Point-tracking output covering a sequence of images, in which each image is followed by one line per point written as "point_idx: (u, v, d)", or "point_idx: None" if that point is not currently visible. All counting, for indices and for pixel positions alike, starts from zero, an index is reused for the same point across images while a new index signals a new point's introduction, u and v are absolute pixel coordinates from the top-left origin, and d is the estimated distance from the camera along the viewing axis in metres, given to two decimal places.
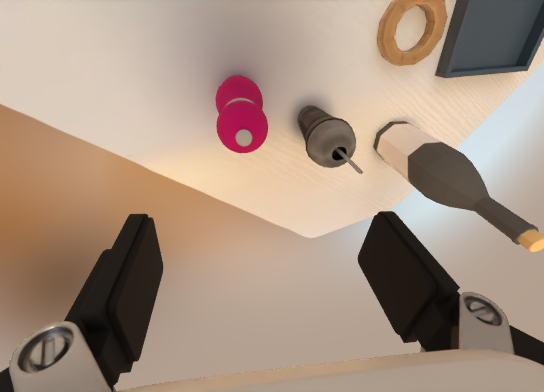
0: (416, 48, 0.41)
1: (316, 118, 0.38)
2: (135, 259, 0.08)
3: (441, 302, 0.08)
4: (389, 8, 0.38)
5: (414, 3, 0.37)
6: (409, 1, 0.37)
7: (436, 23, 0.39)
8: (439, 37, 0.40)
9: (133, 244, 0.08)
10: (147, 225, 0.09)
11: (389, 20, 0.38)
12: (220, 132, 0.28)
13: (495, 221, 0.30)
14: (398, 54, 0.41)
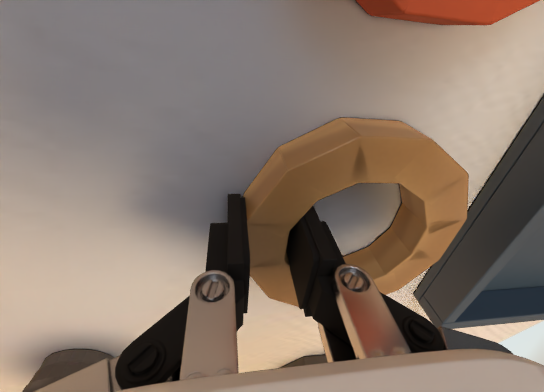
0: (363, 264, 0.14)
1: None
2: (247, 228, 0.09)
3: (325, 274, 0.08)
4: (268, 169, 0.10)
5: (355, 179, 0.09)
6: (334, 173, 0.09)
7: (429, 232, 0.11)
8: (433, 260, 0.13)
9: (241, 217, 0.10)
10: (244, 203, 0.10)
11: (258, 220, 0.10)
12: None
13: None
14: None
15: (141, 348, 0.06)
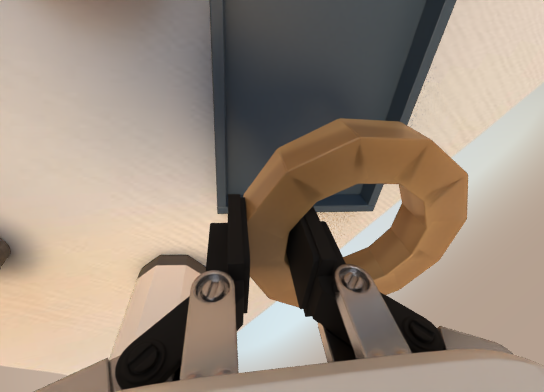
0: (363, 265, 0.14)
1: None
2: (247, 228, 0.09)
3: (325, 274, 0.08)
4: (267, 170, 0.10)
5: (355, 180, 0.09)
6: (334, 174, 0.09)
7: (429, 232, 0.11)
8: (433, 260, 0.13)
9: (241, 216, 0.10)
10: (244, 203, 0.10)
11: (257, 221, 0.10)
12: None
13: None
14: None
15: (141, 348, 0.06)
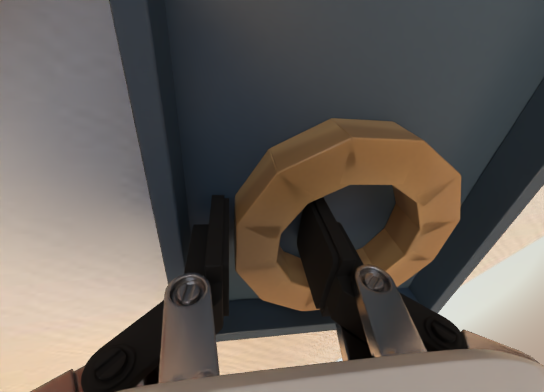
0: None
1: None
2: None
3: (344, 274, 0.08)
4: (258, 170, 0.10)
5: (347, 181, 0.09)
6: (325, 176, 0.09)
7: (422, 233, 0.11)
8: (426, 261, 0.12)
9: (223, 218, 0.09)
10: (228, 204, 0.10)
11: (248, 223, 0.09)
12: None
13: None
14: (296, 293, 0.12)
15: (109, 353, 0.06)
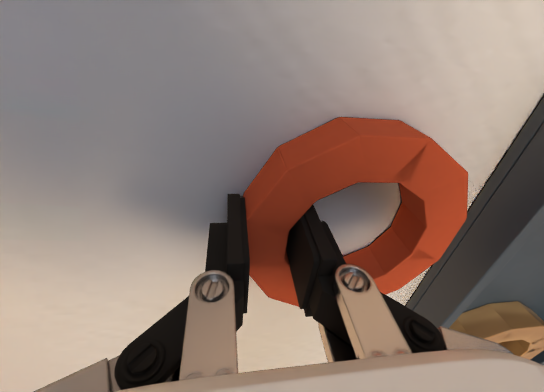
0: None
1: None
2: (246, 228, 0.09)
3: (325, 274, 0.08)
4: (450, 328, 0.19)
5: (502, 341, 0.18)
6: (494, 340, 0.18)
7: (527, 352, 0.21)
8: None
9: (241, 217, 0.10)
10: (244, 203, 0.10)
11: None
12: None
13: None
14: None
15: (140, 348, 0.06)
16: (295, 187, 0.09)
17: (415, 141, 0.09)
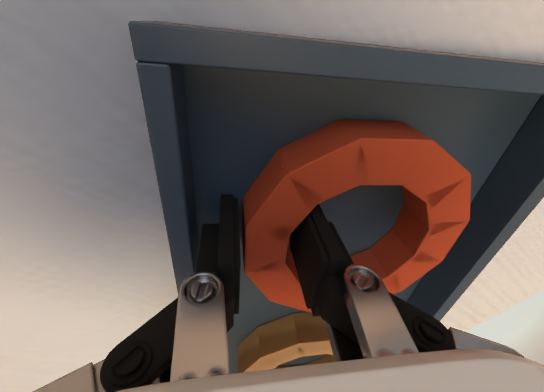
0: None
1: None
2: (238, 228, 0.09)
3: (333, 274, 0.08)
4: (251, 341, 0.17)
5: (299, 356, 0.16)
6: (287, 355, 0.16)
7: None
8: None
9: (233, 217, 0.09)
10: (237, 203, 0.10)
11: None
12: None
13: None
14: None
15: (127, 350, 0.06)
16: (296, 190, 0.09)
17: (417, 143, 0.08)
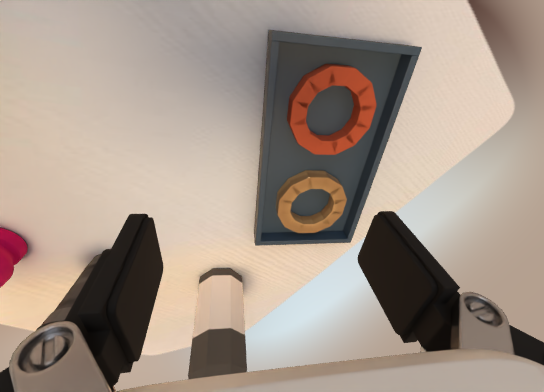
0: (317, 217, 0.38)
1: (64, 302, 0.31)
2: (135, 259, 0.08)
3: (441, 302, 0.08)
4: (285, 184, 0.35)
5: (309, 188, 0.34)
6: (303, 186, 0.34)
7: (335, 203, 0.36)
8: (340, 214, 0.37)
9: (133, 244, 0.08)
10: (147, 225, 0.09)
11: (282, 199, 0.34)
12: None
13: None
14: (296, 225, 0.37)
15: None
16: (310, 86, 0.27)
17: (350, 69, 0.26)
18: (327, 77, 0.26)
